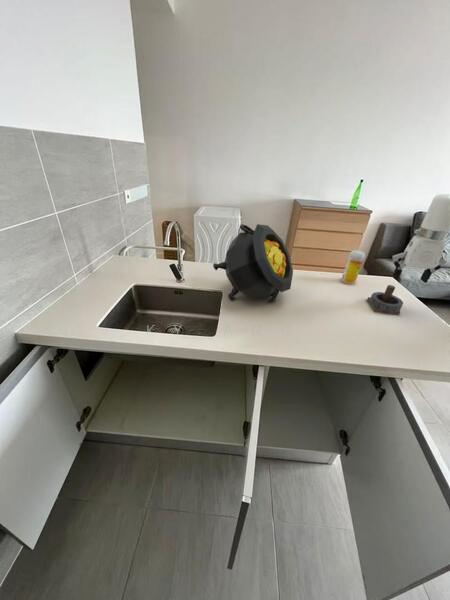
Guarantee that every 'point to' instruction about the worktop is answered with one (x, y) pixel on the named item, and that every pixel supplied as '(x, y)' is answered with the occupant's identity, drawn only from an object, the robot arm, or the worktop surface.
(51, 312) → the worktop surface
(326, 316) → the worktop surface
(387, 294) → the peg stand
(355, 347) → the worktop surface
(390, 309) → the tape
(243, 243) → the cauldron
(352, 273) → the beer can
